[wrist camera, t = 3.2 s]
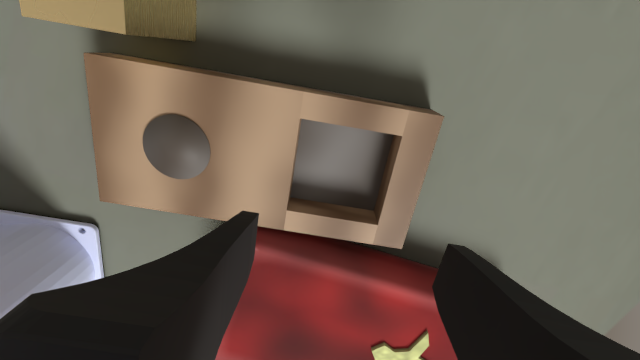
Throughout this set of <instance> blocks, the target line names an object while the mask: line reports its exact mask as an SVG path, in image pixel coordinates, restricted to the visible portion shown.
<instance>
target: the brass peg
mask: <svg viewBox="0 0 640 360" xmlns="http://www.w3.org/2000/svg"><path fill="white" fill-rule="evenodd" d="M19 2H20V7H21V13H22V16H25V17H31V18H36V19H42V20H48V21H53V22H59V23H64V24H70V25H76V26H81V27H87V28H92V29H98V30H103V31H109V32H115V33H120V34H126V35H136V36H147V37H157V38H168V39H178V40H189V41H196V0H19Z"/></svg>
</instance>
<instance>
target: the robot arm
mask: <svg viewBox="0 0 640 360" xmlns="http://www.w3.org/2000/svg"><path fill="white" fill-rule="evenodd" d="M258 218H259V213H255V212H249V211H241V212H240V213H238V214H237V215H235V216H234V217H232V218H231V219H229V220H228V221H227V222H225V223H224V224H222V225H221V226H219V227H218V228H216V229H215V230H213V231H212V232H210V233H209V234H207V235H205V236H203V237H202V238H200V239H198V240H196V241H195V242H193V243H191V244H190V245H188V246H186V247H184V248H182V249H180V250H178V251H176V252H173V253H171V254H169V255H167V256H165V257H162V258H160V259H158V260H155V261H152V262H149V263H147V264H144V265H141V266H139V267H136V268H133V269H130V270H128V271H124V272H121V273H118V274H115V275H111V276H108V277H104V272H103V263H102V255H101V246H100V238H99V230H98V228H97V227H96V226H95V225H93V224H89V223H83V222H76V221H70V220H64V219H57V218H51V217H45V216H38V215H32V214H25V213H19V212H13V211H6V210H0V360H215V358H216V355H217V352H218V349H219V347H220V344H221V342H222V339H223V336H224V334H225V332H226V329H227V327H228V325H229V323H230V320H231V318H232V316H233V314H234V311H235V309H236V307H237V305H238V302H239V300H240V298H241V295H242V293H243V291H244V288H245V286H246V284H247V281H248V278H249V275H250V271H251V268H252V264H253V261H254V255H255V246H256V236H257V227H258ZM83 229H84V230H85V231H84V230H83ZM432 289H433V293H434V297H435V302H436V305H437V309H438V312H439V315H440V317H441V320H442V322H443V325H444V327H445V330H446V332H447V335H448V337H449V340H450V342H451V344H452V347H453V349H454V352H455V354H456V357H457V359H458V360H640V354H639V353H637V352H635V351H633V350H631V349H629V348H626V347H625V346H623V345H621V344H618V343H617V342H615V341H613V340H611V339H609V338H607V337H605V336H603V335H601V334H599V333H597V332H595V331H594V330H592V329H590V328H588V327H586V326H585V325H583V324H581V323H579V322H578V321H576V320H574V319H572V318H571V317H569V316H567V315H566V314H564V313H562V312H561V311H559V310H557V309H556V308H554V307H552V306H551V305H549V304H548V303H546V302H545V301H543V300H542V299H540V298H539V297H537V296H536V295H534V294H532V293H531V292H529V291H528V290H527V289H525V288H524V287H522V286H521V285H519V284H518V283H516V282H515V281H514V280H512V279H511V278H509V277H508V276H507V275H505V274H504V273H503V272H501V271H500V270H498V269H497V268H496V267H494V266H493V265H492V264H490V263H489V262H487V261H486V260H485V259H483V258H482V257H480V256H479V255H477V254H476V253H475V252H473V251H471V250H470V249H468V248H466V247H465V246H460V245H453V244H448V246H447V248H446V251H445V254H444V256H443V259H442V262H441V264H440V267H439V269H438V272H437V275H436V277H435V280H434V282H433V285H432Z"/></svg>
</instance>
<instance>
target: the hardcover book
mask: <svg viewBox="0 0 640 360" xmlns="http://www.w3.org/2000/svg"><path fill="white" fill-rule="evenodd" d="M437 272H438V269H437V268H434V267H431V266H427V265H424V264H421V263H418V262H414V261H411V260H408V259H404V258H401V257H398V256H395V255H391V254H388V253H385V252H381V251H378V250H375V249H371V248H368V247H365V246H362V245H358V244H355V243H352V242H348V241H345V240H342V239H335V238H329V237H323V236H316V235H310V234H304V233H298V232H291V231H285V230H279V229H273V228H266V227H260V226H258V227H257V236H256V246H255V255H254V261H253V264H252V268H251V271H250V275H249V278H248V281H247V284H246V286H245V288H244V291H243V293H242V295H241V298H240V300H239V302H238V305H237V307H236V309H235V311H234V314H233V316H232V318H231V320H230V323H229V325H228V327H227V329H226V332H225V334H224V336H223V339H222V342H221V344H220V347H219V349H218V352H217V355H216V358H215V360H458V359H457V357H456V354H455V352H454V349H453V347H452V344H451V342H450V340H449V337H448V335H447V332H446V330H445V327H444V325H443V322H442V320H441V317H440V315H439V312H438V309H437V305H436V302H435V297H434V293H433V289H432V285H433V282H434V280H435V277H436V275H437Z"/></svg>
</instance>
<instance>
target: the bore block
mask: <svg viewBox="0 0 640 360" xmlns="http://www.w3.org/2000/svg"><path fill="white" fill-rule="evenodd" d="M84 61H85V70H86V79H87V88H88V97H89V106H90V115H91V124H92V134H93V143H94V152H95V161H96V170H97V179H98V188H99V197H100V201H103V202H110V203H116V204H122V205H128V206H135V207H141V208H147V209H153V210H160V211H166V212H172V213H178V214H185V215H191V216H197V217H204V218H210V219H216V220H222V221H228V220H229V219H231V218H232V217H234V216H235V215H237V214H238V213H240V212H241V211H249V212H255V213H259V218H258V226H260V227H266V228H273V229H279V230H285V231H291V232H298V233H304V234H310V235H316V236H323V237H329V238H335V239H342V240H348V241H354V242H360V243H367V244H373V245H379V246H385V247H392V248H398V249H402V247H403V244H404V241H405V238H406V234H407V231H408V228H409V225H410V222H411V219H412V216H413V212H414V209H415V206H416V203H417V200H418V197H419V194H420V190H421V187H422V184H423V181H424V178H425V175H426V172H427V169H428V165H429V162H430V159H431V156H432V153H433V150H434V147H435V143H436V140H437V137H438V134H439V131H440V128H441V125H442V121H443V118H444V116H442V115H441V114H439V113H437V112H435V111H433V110H431V109H427V108H421V107H416V106H410V105H404V104H399V103H393V102H387V101H382V100H376V99H371V98H365V97H359V96H354V95H348V94H342V93H337V92H331V91H325V90H320V89H314V88H309V87H303V86H297V85H292V84H286V83H280V82H275V81H269V80H264V79H258V78H252V77H247V76H241V75H235V74H230V73H224V72H218V71H213V70H207V69H202V68H196V67H190V66H185V65H179V64H173V63H168V62H162V61H157V60H151V59H145V58H140V57H134V56H128V55H123V54H117V53H84Z"/></svg>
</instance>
